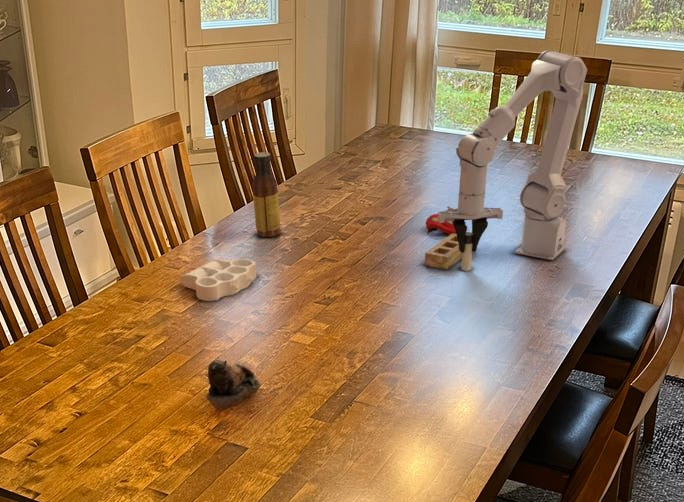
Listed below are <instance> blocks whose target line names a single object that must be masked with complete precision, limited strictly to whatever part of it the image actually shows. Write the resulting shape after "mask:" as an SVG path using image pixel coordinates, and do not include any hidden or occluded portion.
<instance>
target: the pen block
mask: <svg viewBox="0 0 684 502" xmlns="http://www.w3.org/2000/svg"><path fill="white" fill-rule="evenodd" d="M460 260H462V253H461V252H460V250H459V244H458V238H457V234H453V233H452V234H448V236H446V237H445V238H444V239H442V240H441V241H440V242H438V243H437V244H435V245H434V246H433V247H431V248H430V249H428V250H427V251H426V252H425V253H424V266H428V267H432V268H437V269H441V270H446V271H447V270H448V269H450V268H451V267H452V266H454V265H455V264H456V263H458V262H459V261H460Z"/></svg>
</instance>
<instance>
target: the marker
mask: <svg viewBox="0 0 684 502" xmlns="http://www.w3.org/2000/svg"><path fill="white" fill-rule="evenodd" d="M473 235H474V234H473V233H472V231H471V232H469V231H466V236H465V250H464V253H462V258H461V267H460V269H461V270H462V271H466V272H467V271H471V269H472V259H473V251H472V247H473Z"/></svg>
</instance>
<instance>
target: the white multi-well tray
mask: <svg viewBox="0 0 684 502" xmlns="http://www.w3.org/2000/svg"><path fill="white" fill-rule="evenodd" d="M256 278H257V264H256V262H255V260H253V259H249V258H236V259H233V260H227V259H226V260H225V259H223V258H214V259H212V260H210V261H209V262H207V263H205V264H203V265H201V266H200V265H199V267H196V268H195V269H193V270H191V271H189V272H187V273H185V274H183V275H181V276H180V277H179V282H180V284H181V285H182V286H183V287H185V288H188V289H190V290H194V291H195V296H196V298H197V299H199V300H201V301H203V302H205V301H206V302H212V301H213V302H214V301H218V300H219V299H221V298H223V297H228V296H233V295H235V294H238V293H239V292H240V291H242V290H243V289H247V288H249V286H250V285H251V283H252V282H255V280H256Z"/></svg>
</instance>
